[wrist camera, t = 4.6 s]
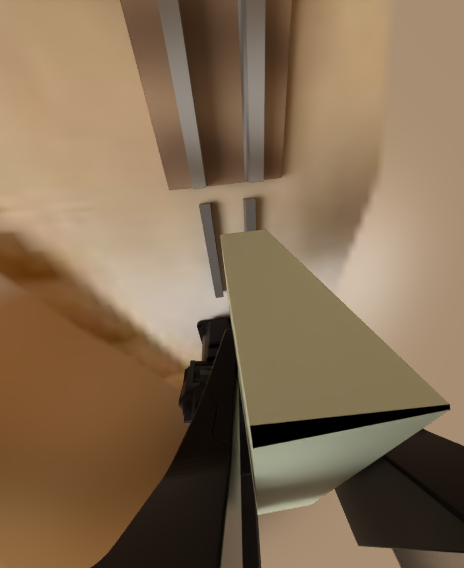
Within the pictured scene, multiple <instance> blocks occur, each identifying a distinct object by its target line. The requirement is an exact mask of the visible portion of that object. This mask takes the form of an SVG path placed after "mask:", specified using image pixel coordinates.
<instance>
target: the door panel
mask: <svg viewBox="0 0 464 568" xmlns="http://www.w3.org/2000/svg"><path fill="white" fill-rule="evenodd" d="M220 240H221V247H222V255H223V263H224V270H225V278H226V286H227V293H228V301H229V309H230V317H231V324H232V329H233V336H234V343H235V350H236V358H237V366H238V377H239V384H240V391H241V398H242V405H243V413H244V420H245V427H246V434H247V441H248V449H249V456H250V463H251V470H252V477H253V485H254V492H255V499H256V506H257V514H258V515H259V514H265V513H270V512H275V511H280V510H285V509H291V508H296V507H301V506H306V505H311V504H312V503H314V502H315V501H317V500H318V499H320V498H321V497H323V496H324V495H326V494H327V493H329V492H330V491H332V490H333V489H335V488H336V487H337V486H339V485H340V484H342V483H343V482H345V481H346V480H348V479H349V478H351V477H352V476H354V475H355V474H357V473H358V472H359V471H361V470H362V469H364V468H365V467H367V466H368V465H370V464H371V463H373V462H374V461H376V460H377V459H379V458H380V457H381V456H383V455H384V454H386V453H387V452H389V451H390V450H392V449H393V448H395V447H396V446H398V445H399V444H401V443H402V442H403V441H405V440H406V439H408V438H409V437H411V436H412V435H414V434H415V433H417V432H418V431H420V430H421V429H423V428H424V427H425V426H427V425H428V424H430V423H431V422H433V421H434V420H436V419H437V418H439V417H440V416H442V415H443V414H445V413H446V412H447V411H449V410H450V404H449V403H448V402H447V401H446V400H445V399H444V398H443V397H441V396H440V395H439V394H438V393H437V392H436V391H435V390H434V389H433V388H432V387H431V386H430V385H429V384H428V383H427V382H426V381H425V380H424V379H423V378H422V377H420V376H419V375H418V374H417V373H416V372H415V371H414V370H413V369H412V368H411V367H410V366H409V365H408V364H407V363H406V362H405V361H404V360H403V359H402V358H401V357H399V356H398V355H397V354H396V353H395V352H394V351H393V350H392V349H391V348H390V347H389V346H388V345H387V344H386V343H385V342H384V341H383V340H382V339H380V338H379V337H378V336H377V335H376V334H375V333H374V332H373V331H372V330H371V329H370V328H369V327H368V326H367V325H366V324H365V323H364V322H363V321H362V320H361V319H359V318H358V317H357V316H356V315H355V314H354V313H353V312H352V311H351V310H350V309H349V308H348V307H347V306H346V305H345V304H344V303H343V302H342V301H341V300H340V299H339V298H337V297H336V296H335V295H334V294H333V293H332V292H331V291H330V290H329V289H328V288H327V287H326V286H325V285H324V284H323V283H322V282H321V281H320V280H319V279H318V278H316V277H315V276H314V275H313V274H312V273H311V272H310V271H309V270H308V269H307V268H306V267H305V266H304V265H303V264H302V263H301V262H300V261H299V260H298V259H297V258H295V257H294V256H293V255H292V254H291V253H290V252H289V251H288V250H287V249H286V248H285V247H284V246H283V245H282V244H281V243H280V242H279V241H278V240H277V239H276V238H274V237H273V236H272V235H271V234H270V233H269V232H268V231H267V230H266V229H264V230H256V231H248V232H240V233H232V234H223V235H220Z"/></svg>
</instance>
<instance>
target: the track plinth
mask: <svg viewBox="0 0 464 568" xmlns="http://www.w3.org/2000/svg"><path fill="white" fill-rule="evenodd" d="M120 2H121V6H122V10H123V13H124V17H125V21H126V25H127V29H128V33H129V37H130V40H131V44H132V48H133V52H134V56H135V60H136V64H137V68H138V71H139V75H140V79H141V83H142V87H143V91H144V95H145V99H146V102H147V106H148V110H149V114H150V118H151V122H152V126H153V129H154V133H155V137H156V141H157V145H158V149H159V153H160V157H161V160H162V164H163V168H164V172H165V176H166V180H167V184H168V187H169V190H177V189H186V188H193V189H198V188H206V187H207V186H213V185H222V184H231V183H240V182H249V183H252V182H261V181H264V180H267V179H276V178H281V177H282V160H283V143H284V126H285V109H286V92H287V76H288V59H289V42H290V25H291V8H292V0H120Z"/></svg>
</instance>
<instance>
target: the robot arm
mask: <svg viewBox="0 0 464 568" xmlns="http://www.w3.org/2000/svg"><path fill="white" fill-rule="evenodd" d="M197 328H198V331H199V335H200V338H201V341H202V361H195V360H192V361H191V362H190V366H188V368H187V369H185V374H184V381H183V386H182V390H181V394H180V398H179V407H180V408H181V409H182V411H183V416H184V425H187V424H190V425H189V428H188V430H187V432H186V434H185V436H184V438H183V440H182V442H181V444H180V446H179V449H178V451H177V453H176V455H175V457H174V459H173V461H172V463H171V465H170V467H169V469H168V470H167V472H166V473H165V475H164V477H163V478H162V480H161V481H160V483H159V484H158V485H157V487H156V488H155V490H154V491H153V492H152V494H151V495H150V496H149V498H148V499H147V501H146V502H145V503H144V505H143V506H142V507H141V509H140V510H139V512H138V513H137V514H136V516H135V517H134V519H133V520H132V521H131V523H130V524H129V526H128V527H127V528H126V530H125V531H124V532H123V534H122V535H121V536H120V538H119V539H118V541H117V542H116V543H115V545H114V546H113V547H112V548H111V550H110V551H109V552H108V553H107V554H106V555H105V556H104V557H103V558H102V559H101V560H100V561H99V562H98V563H97V564H95V565H94V566H92V567H91V568H261V559H260V543H259V528H258V514H257V506H256V499H255V492H254V485H253V477H252V470H251V463H250V456H249V449H248V441H247V434H246V427H245V420H244V413H243V405H242V398H241V391H240V384H239V377H238V366H237V358H236V350H235V343H234V336H233V329H232V324H231V317H229V318H222V319H215V320H208V321H201V322H198V323H197ZM335 491H336V493H337V496H338V498H339V500H340V503H341V505H342V508H343V510H344V513H345V515H346V518H347V520H348V522H349V524H350V527H351V530H352V532H353V534H354V537H355V539H356V541H357V543H358V546H366V547H380V548H392V551H393V553H394V555H395V557H396V559H397V561H398V563H399V565H400V567H401V568H464V446H462V445H460V444H458V443H455V442H452V441H450V440H448V439H445V438H443V437H441V436H438V435H436V434H433V433H431V432H429V431H427V430H425V429H421V430H420V431H418V432H417V433H415V434H414V435H412V436H411V437H409V438H408V439H406V440H405V441H403V442H402V443H401V444H399V445H398V446H396V447H395V448H393V449H392V450H390V451H389V452H387V453H386V454H384V455H383V456H381V457H380V458H379V459H377V460H376V461H374V462H373V463H371V464H370V465H368V466H367V467H365V468H364V469H362V470H361V471H359V472H358V473H357V474H355V475H354V476H352V477H351V478H349V479H348V480H346V481H345V482H343V483H342V484H340V485H339V486H337V487H336V488H335Z"/></svg>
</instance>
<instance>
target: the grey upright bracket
mask: <svg viewBox="0 0 464 568" xmlns="http://www.w3.org/2000/svg"><path fill="white" fill-rule="evenodd" d="M243 204H244V225H245V232H248V231H256V199H254V198H247V199H243ZM199 207H200V213H201V218H202V224H203V230H204V235H205V241H206V246H207V252H208V257H209V263H210V268H211V274H212V279H213V285H214V290H215V296H216V298H218V297H223V288H222V282H221V275H220V268H219V261H218V255H217V248H216V241H215V234H214V228H213V221H212V214H211V207H210V203H203V204H200V205H199Z"/></svg>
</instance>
